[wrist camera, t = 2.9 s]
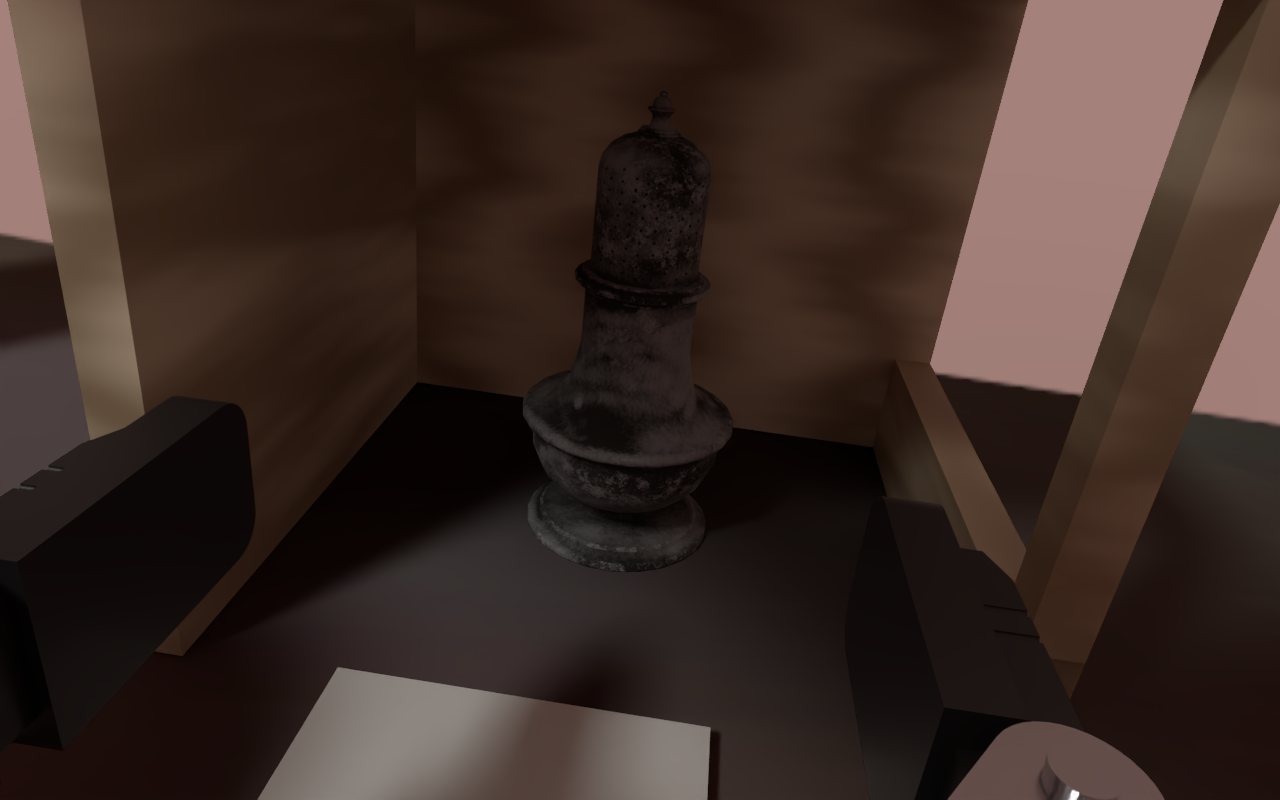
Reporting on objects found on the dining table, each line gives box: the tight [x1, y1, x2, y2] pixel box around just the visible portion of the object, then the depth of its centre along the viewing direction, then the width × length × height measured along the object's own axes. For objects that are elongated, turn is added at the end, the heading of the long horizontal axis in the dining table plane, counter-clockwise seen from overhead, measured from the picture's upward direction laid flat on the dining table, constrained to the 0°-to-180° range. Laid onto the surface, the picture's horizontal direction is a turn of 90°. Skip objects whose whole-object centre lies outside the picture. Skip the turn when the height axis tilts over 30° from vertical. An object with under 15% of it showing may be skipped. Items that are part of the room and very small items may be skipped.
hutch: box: [7, 0, 1280, 699], centre depth 22 cm, size 19×16×16 cm
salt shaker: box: [523, 91, 733, 572], centre depth 23 cm, size 6×6×12 cm
